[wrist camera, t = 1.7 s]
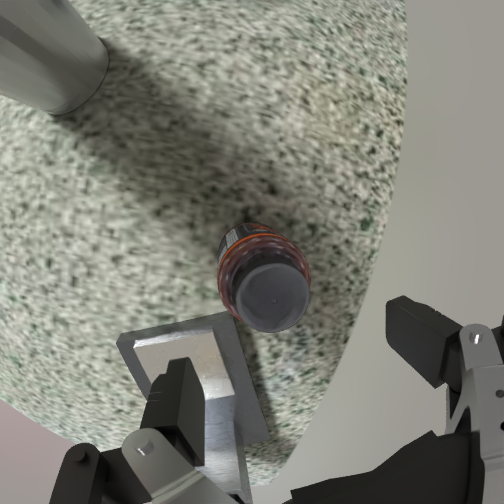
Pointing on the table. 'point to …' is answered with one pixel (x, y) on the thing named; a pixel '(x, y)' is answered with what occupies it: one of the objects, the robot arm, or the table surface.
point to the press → (207, 389)
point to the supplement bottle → (262, 278)
